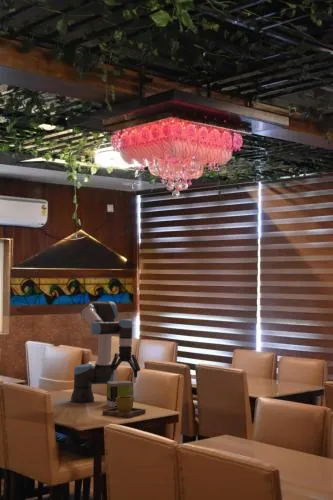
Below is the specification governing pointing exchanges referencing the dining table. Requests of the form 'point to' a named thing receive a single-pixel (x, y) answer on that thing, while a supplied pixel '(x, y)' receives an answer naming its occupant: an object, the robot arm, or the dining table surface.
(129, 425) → the dining table surface
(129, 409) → the flower pot
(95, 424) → the dining table surface
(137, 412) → the walnut tray
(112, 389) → the tea box
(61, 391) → the dining table surface
